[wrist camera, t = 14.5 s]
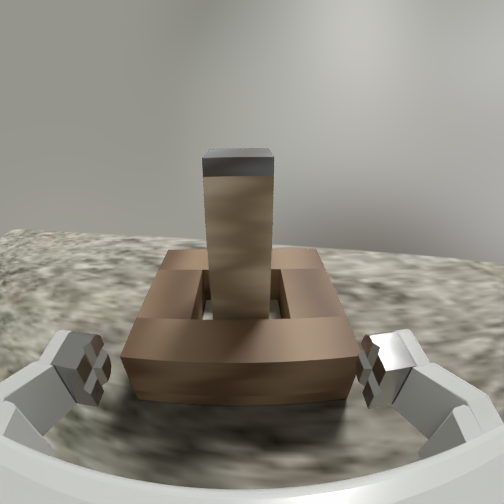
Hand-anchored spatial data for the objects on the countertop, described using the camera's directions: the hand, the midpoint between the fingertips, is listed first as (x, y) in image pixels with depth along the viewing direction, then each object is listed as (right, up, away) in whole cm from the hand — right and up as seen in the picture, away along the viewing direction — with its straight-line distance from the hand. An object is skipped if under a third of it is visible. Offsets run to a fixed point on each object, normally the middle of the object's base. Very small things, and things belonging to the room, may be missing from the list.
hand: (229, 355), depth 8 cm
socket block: (0, -3, +14) cm, 14 cm away
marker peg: (0, -2, +13) cm, 13 cm away
